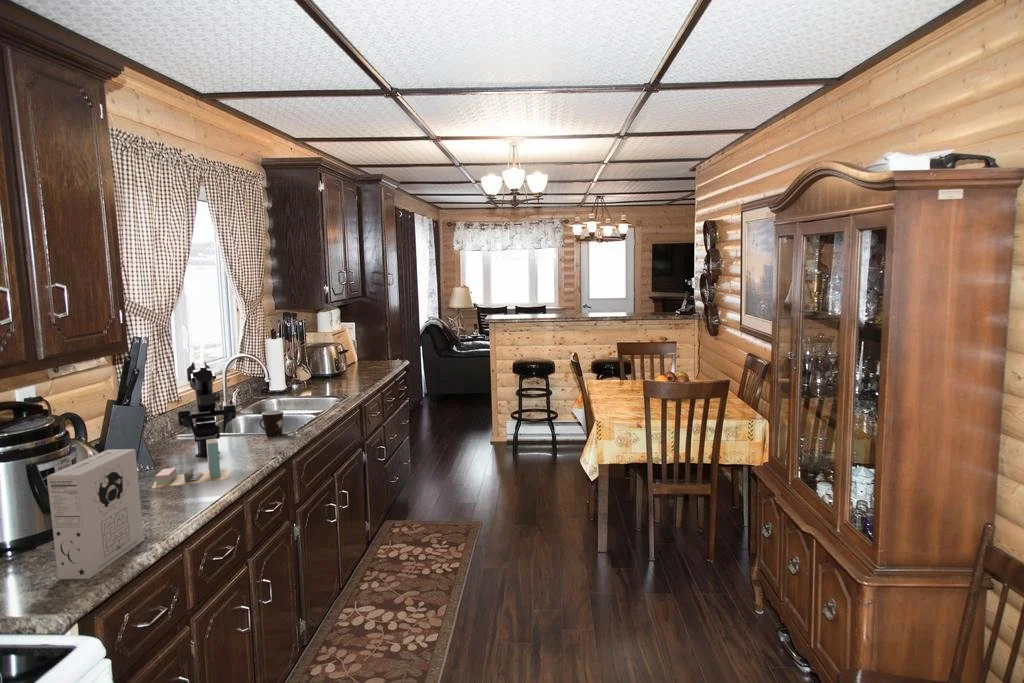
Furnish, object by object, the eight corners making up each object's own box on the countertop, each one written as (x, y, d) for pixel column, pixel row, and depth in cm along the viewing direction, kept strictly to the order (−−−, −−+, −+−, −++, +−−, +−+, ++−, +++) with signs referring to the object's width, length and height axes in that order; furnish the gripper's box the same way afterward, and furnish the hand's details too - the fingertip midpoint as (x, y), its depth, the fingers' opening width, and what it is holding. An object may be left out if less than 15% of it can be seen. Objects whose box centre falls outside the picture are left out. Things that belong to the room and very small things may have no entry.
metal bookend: (191, 475, 223) (190, 467, 222) (202, 474, 223) (202, 466, 223) (184, 482, 216) (184, 473, 216) (197, 481, 217) (196, 472, 216)
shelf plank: (151, 491, 211) (151, 488, 211) (158, 480, 222) (157, 477, 222) (228, 482, 218) (228, 478, 218) (231, 471, 230) (230, 468, 230)
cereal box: (116, 540, 173) (107, 449, 170) (144, 540, 173) (135, 448, 170) (57, 580, 151) (45, 475, 148) (89, 579, 151) (78, 475, 148)
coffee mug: (279, 431, 285) (277, 409, 284) (288, 434, 279) (286, 412, 278) (253, 437, 277) (251, 414, 276) (261, 440, 271) (260, 417, 270)
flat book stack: (164, 477, 222) (163, 468, 221) (177, 476, 222) (176, 467, 222) (156, 484, 214) (155, 476, 213) (169, 483, 215) (168, 475, 214)
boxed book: (208, 473, 224) (206, 439, 223) (219, 472, 226) (216, 438, 224) (210, 478, 219) (207, 443, 217) (220, 477, 220) (217, 442, 219)
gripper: (175, 388, 226) (179, 425, 218) (233, 382, 235) (239, 418, 227) (176, 406, 234) (180, 443, 226) (232, 400, 243) (238, 435, 235)
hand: (210, 434), depth 228 cm, fingers open, 9 cm apart
